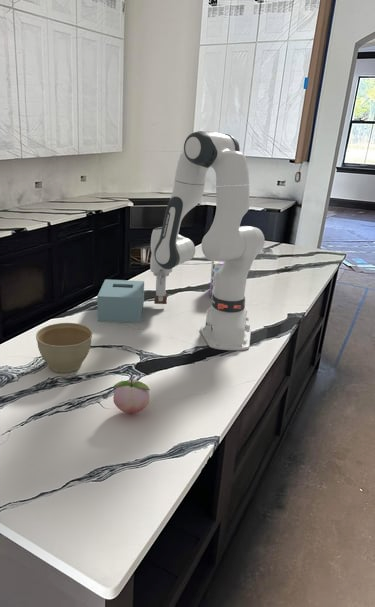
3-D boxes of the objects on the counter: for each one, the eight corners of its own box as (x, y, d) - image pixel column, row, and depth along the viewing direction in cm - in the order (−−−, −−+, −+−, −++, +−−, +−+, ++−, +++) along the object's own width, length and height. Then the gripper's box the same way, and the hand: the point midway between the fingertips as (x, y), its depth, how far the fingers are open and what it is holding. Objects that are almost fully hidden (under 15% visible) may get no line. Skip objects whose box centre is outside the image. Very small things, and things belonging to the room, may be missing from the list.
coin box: (140, 322, 172) (140, 298, 168) (97, 321, 171) (97, 296, 168) (143, 303, 190) (144, 281, 187) (105, 302, 190) (105, 279, 186)
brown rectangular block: (166, 304, 186) (166, 293, 184) (154, 303, 185) (154, 293, 184) (166, 302, 187) (166, 292, 186) (154, 302, 187) (154, 291, 186)
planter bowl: (37, 381, 129) (34, 347, 125) (39, 355, 143) (36, 324, 139) (94, 376, 133) (94, 343, 129) (90, 351, 148) (90, 321, 144)
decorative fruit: (150, 403, 122) (151, 371, 118) (148, 422, 114) (149, 387, 111) (114, 402, 121) (114, 369, 118) (111, 421, 114) (110, 386, 110)
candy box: (223, 300, 200) (226, 264, 194) (210, 299, 200) (213, 263, 194) (222, 289, 213) (225, 255, 207) (209, 289, 213) (212, 255, 207)
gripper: (169, 274, 171) (168, 308, 176) (169, 260, 191) (168, 291, 195) (152, 273, 171) (152, 308, 176) (154, 260, 190) (153, 291, 195)
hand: (160, 299), depth 186 cm, fingers closed on brown rectangular block, 2 cm apart
